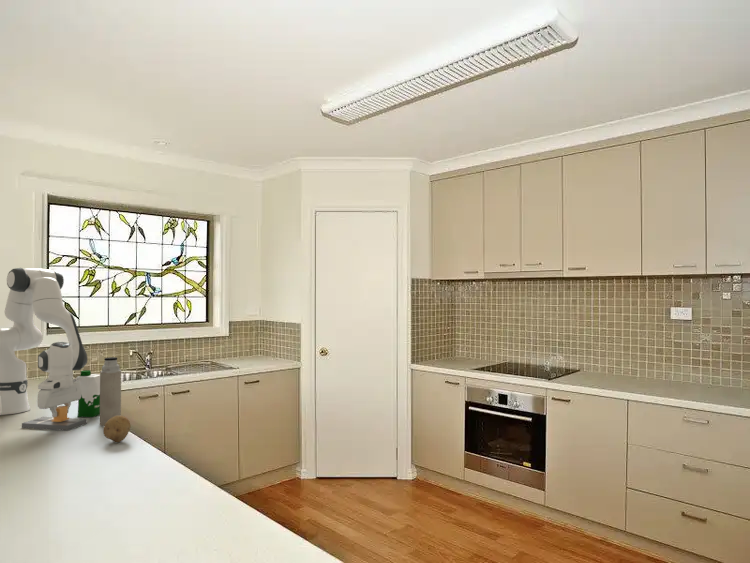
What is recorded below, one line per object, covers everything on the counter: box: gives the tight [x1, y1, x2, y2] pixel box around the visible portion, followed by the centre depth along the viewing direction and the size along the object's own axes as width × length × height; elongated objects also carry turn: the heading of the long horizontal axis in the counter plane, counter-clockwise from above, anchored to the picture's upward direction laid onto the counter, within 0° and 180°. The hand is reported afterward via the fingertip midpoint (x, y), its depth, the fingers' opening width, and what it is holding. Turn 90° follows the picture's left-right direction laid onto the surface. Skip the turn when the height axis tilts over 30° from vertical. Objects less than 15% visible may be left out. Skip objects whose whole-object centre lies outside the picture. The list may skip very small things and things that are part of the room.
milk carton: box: [76, 369, 100, 418], centre depth 236 cm, size 9×9×20 cm
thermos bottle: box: [99, 356, 122, 427], centre depth 221 cm, size 8×8×28 cm
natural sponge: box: [103, 415, 132, 444], centre depth 194 cm, size 9×9×10 cm
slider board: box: [21, 416, 88, 432], centre depth 217 cm, size 21×11×2 cm, turn 80°
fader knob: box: [52, 405, 70, 422], centre depth 217 cm, size 4×5×6 cm
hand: (60, 415), depth 217 cm, fingers closed on fader knob, 4 cm apart
